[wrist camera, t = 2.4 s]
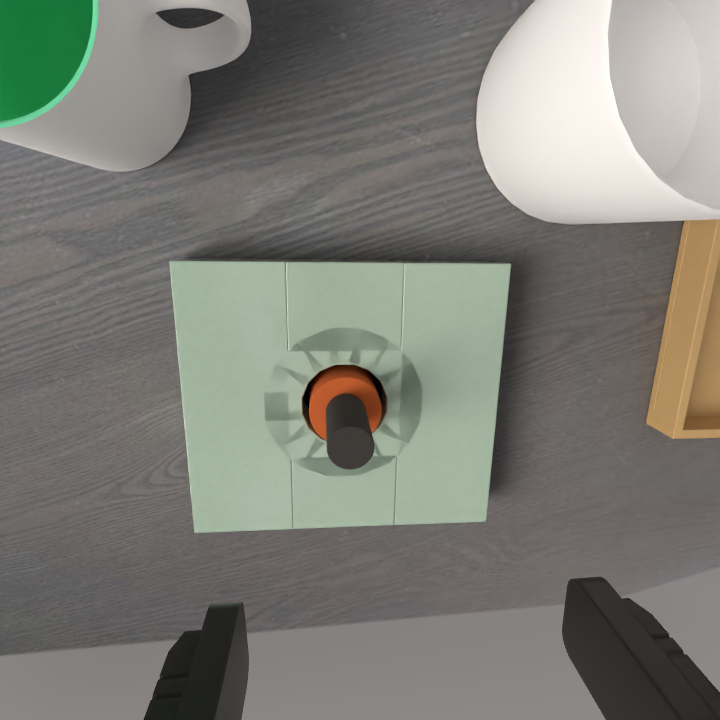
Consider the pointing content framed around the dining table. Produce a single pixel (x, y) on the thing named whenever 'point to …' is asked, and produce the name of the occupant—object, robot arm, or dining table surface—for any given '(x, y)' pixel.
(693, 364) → the tray
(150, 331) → the dining table surface
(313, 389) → the plug
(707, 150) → the cup
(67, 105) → the mug
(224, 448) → the green drain plate
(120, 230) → the dining table surface
